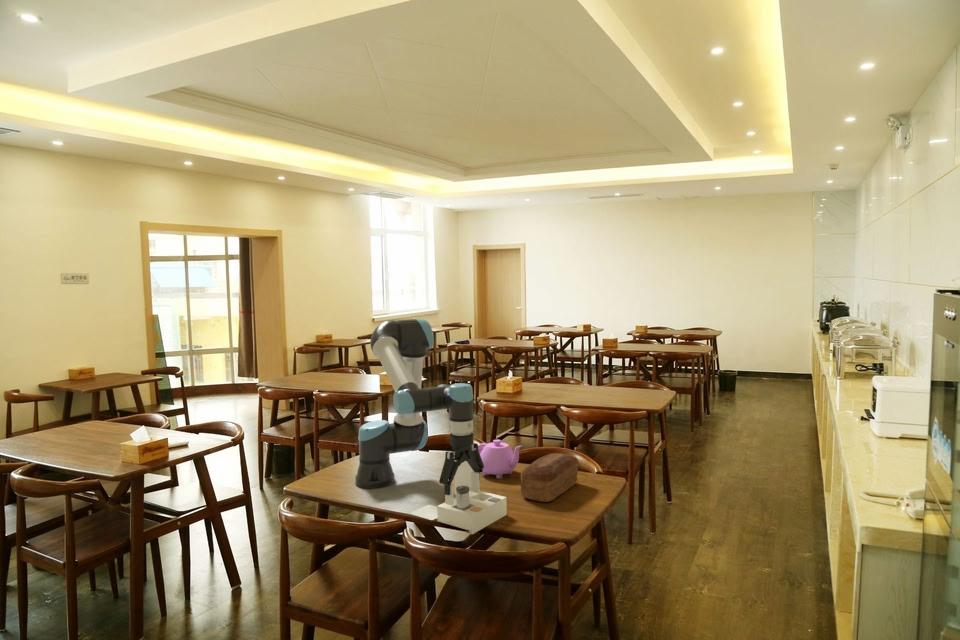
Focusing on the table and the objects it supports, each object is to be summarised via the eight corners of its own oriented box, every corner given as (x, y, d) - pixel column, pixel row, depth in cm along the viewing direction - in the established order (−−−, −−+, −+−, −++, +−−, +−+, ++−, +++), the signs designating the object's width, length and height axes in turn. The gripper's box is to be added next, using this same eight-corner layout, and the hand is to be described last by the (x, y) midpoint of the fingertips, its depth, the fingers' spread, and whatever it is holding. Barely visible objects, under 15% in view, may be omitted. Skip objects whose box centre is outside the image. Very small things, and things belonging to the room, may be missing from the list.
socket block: (437, 524, 197) (437, 505, 196) (473, 505, 212) (472, 488, 211) (472, 534, 188) (471, 514, 188) (506, 514, 203) (506, 496, 203)
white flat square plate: (409, 516, 203) (409, 513, 203) (429, 507, 211) (429, 504, 211) (431, 523, 197) (431, 520, 197) (451, 513, 205) (451, 510, 205)
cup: (470, 502, 215) (469, 458, 214) (451, 498, 219) (450, 455, 218) (482, 495, 222) (481, 452, 221) (463, 491, 226) (462, 449, 225)
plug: (454, 525, 196) (453, 488, 195) (462, 520, 199) (461, 484, 198) (464, 528, 193) (463, 491, 192) (472, 523, 196) (471, 487, 196)
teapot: (533, 474, 245) (532, 440, 244) (511, 484, 233) (510, 449, 232) (489, 464, 259) (488, 432, 258) (466, 474, 246) (465, 440, 245)
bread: (583, 483, 234) (583, 451, 233) (550, 507, 210) (550, 472, 209) (550, 477, 241) (550, 446, 240) (515, 499, 218) (515, 466, 217)
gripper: (445, 443, 182) (447, 512, 183) (493, 426, 202) (494, 488, 203) (426, 439, 186) (428, 507, 188) (475, 423, 206) (476, 484, 208)
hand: (462, 497), depth 195 cm, fingers open, 13 cm apart
